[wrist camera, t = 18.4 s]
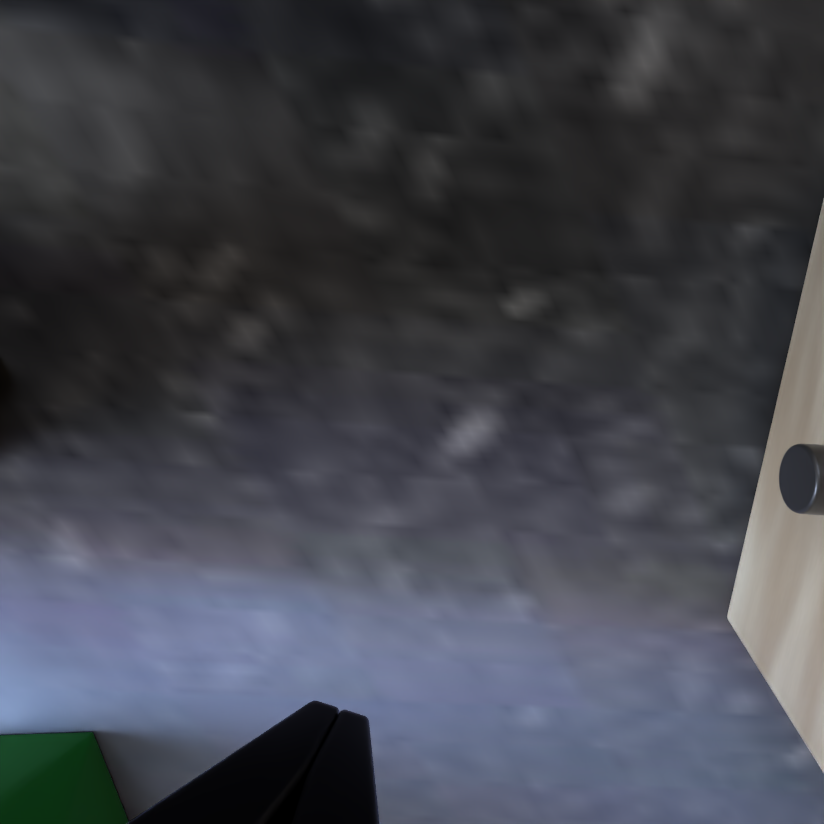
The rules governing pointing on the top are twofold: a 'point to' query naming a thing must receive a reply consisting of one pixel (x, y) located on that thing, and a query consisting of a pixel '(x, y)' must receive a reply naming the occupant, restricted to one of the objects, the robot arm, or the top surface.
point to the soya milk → (56, 781)
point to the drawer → (791, 529)
